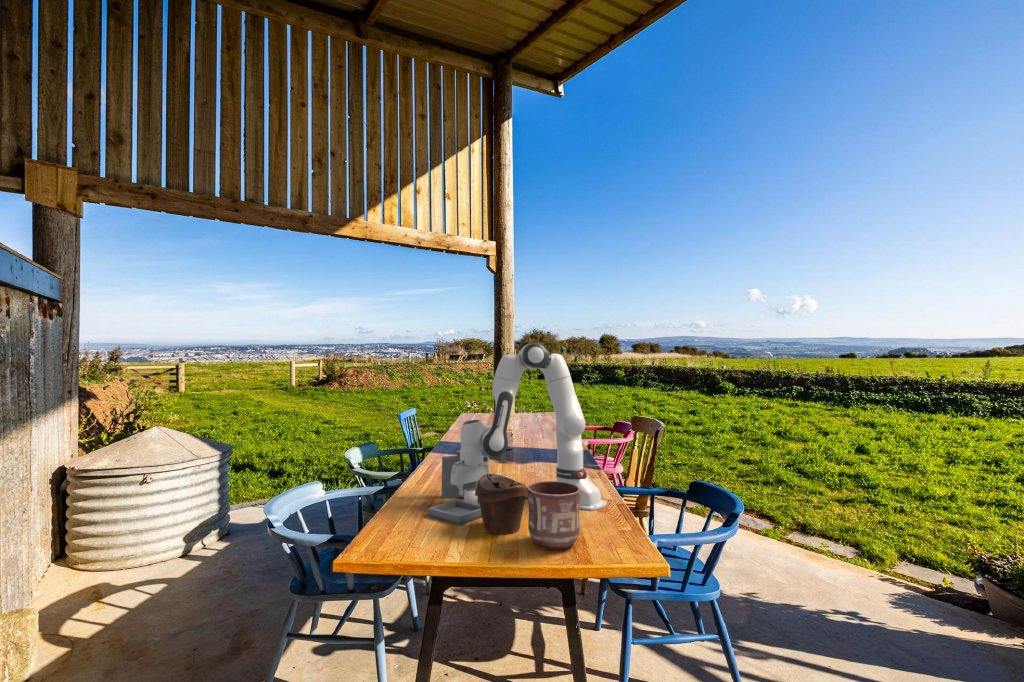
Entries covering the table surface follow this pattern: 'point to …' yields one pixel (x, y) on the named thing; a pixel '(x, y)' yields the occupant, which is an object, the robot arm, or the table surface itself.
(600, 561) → the table surface
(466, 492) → the cup
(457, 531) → the table surface
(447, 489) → the hip flask
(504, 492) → the brown lidded tumbler
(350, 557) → the table surface
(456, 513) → the tray
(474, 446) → the robot arm
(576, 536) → the pottery
